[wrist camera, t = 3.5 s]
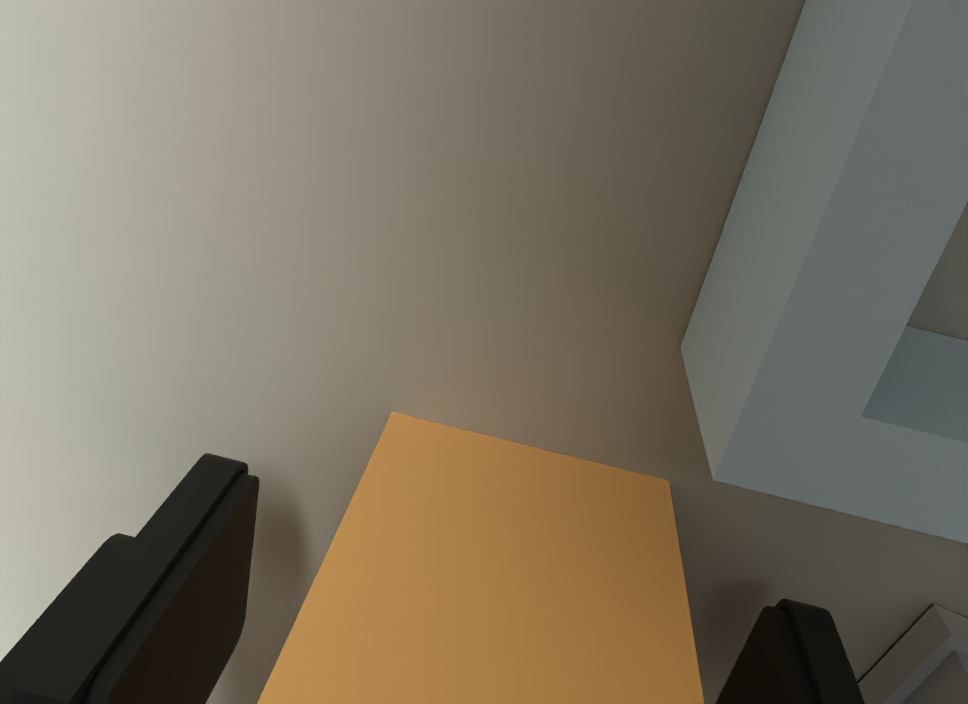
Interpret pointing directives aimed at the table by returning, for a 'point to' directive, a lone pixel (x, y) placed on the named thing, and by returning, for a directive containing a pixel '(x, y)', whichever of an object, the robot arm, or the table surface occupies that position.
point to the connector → (493, 583)
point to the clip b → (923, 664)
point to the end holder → (844, 275)
